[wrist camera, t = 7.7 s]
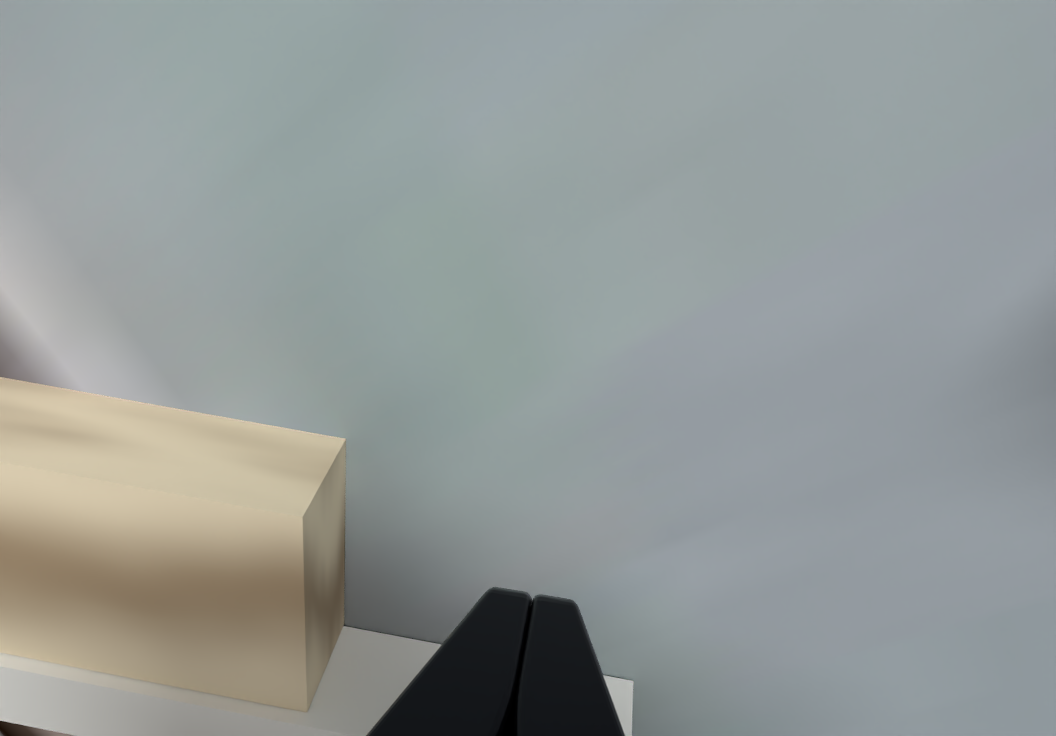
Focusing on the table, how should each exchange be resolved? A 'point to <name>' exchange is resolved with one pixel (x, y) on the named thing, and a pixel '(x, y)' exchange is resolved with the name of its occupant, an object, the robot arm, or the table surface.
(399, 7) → the table surface
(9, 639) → the birch block
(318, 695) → the off-white board
